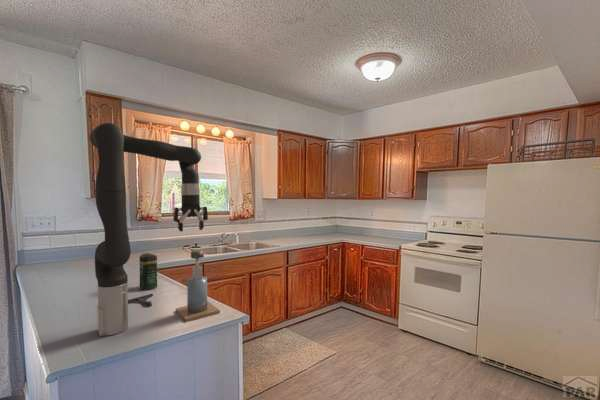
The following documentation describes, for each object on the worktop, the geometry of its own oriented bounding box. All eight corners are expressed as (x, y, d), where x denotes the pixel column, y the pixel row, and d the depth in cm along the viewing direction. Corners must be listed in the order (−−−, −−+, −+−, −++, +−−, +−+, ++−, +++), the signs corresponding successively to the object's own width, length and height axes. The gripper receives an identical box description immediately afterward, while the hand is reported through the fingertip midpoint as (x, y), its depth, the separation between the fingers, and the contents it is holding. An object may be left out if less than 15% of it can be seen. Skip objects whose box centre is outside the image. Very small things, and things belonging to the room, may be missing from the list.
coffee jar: (159, 288, 155) (159, 254, 155) (143, 291, 150) (143, 256, 150) (153, 284, 162) (153, 251, 162) (137, 287, 157) (137, 253, 157)
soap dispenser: (185, 322, 113) (185, 273, 113) (175, 311, 124) (175, 266, 124) (219, 312, 122) (219, 267, 122) (207, 303, 133) (207, 262, 133)
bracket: (133, 313, 124) (133, 306, 124) (119, 305, 133) (119, 299, 133) (166, 303, 135) (166, 297, 135) (151, 296, 144) (151, 291, 144)
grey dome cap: (196, 272, 117) (196, 254, 116) (189, 268, 123) (189, 251, 123) (208, 270, 120) (208, 252, 120) (200, 266, 126) (200, 250, 126)
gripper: (176, 194, 120) (176, 232, 120) (209, 193, 129) (210, 229, 129) (171, 194, 126) (172, 231, 126) (203, 194, 135) (204, 228, 135)
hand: (191, 230), depth 128 cm, fingers open, 8 cm apart
